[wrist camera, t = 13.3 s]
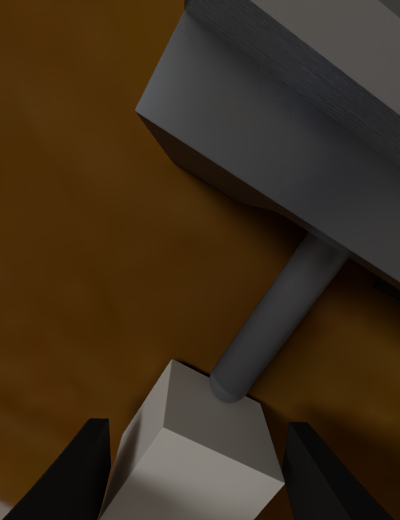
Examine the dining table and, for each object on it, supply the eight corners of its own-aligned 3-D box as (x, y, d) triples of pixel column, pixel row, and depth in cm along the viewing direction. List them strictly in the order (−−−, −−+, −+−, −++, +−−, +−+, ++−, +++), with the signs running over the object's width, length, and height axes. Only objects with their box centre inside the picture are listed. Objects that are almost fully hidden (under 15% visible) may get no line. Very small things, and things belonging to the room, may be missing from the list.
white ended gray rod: (725, -87, 7) (1094, -280, 4) (231, 507, 12) (243, 608, 9) (518, -335, 6) (832, -841, 3) (64, 435, 11) (16, 525, 8)
